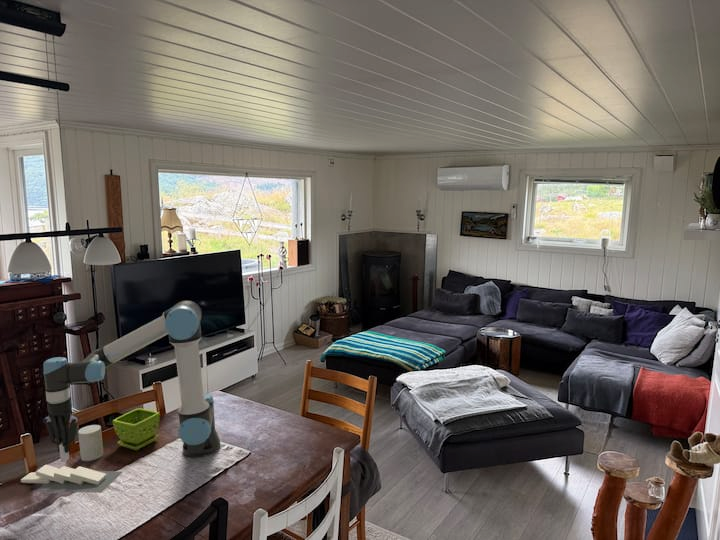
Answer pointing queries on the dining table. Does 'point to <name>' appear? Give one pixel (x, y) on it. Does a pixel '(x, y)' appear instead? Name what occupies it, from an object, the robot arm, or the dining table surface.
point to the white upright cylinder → (90, 442)
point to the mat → (83, 487)
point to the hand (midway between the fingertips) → (65, 460)
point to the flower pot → (137, 428)
